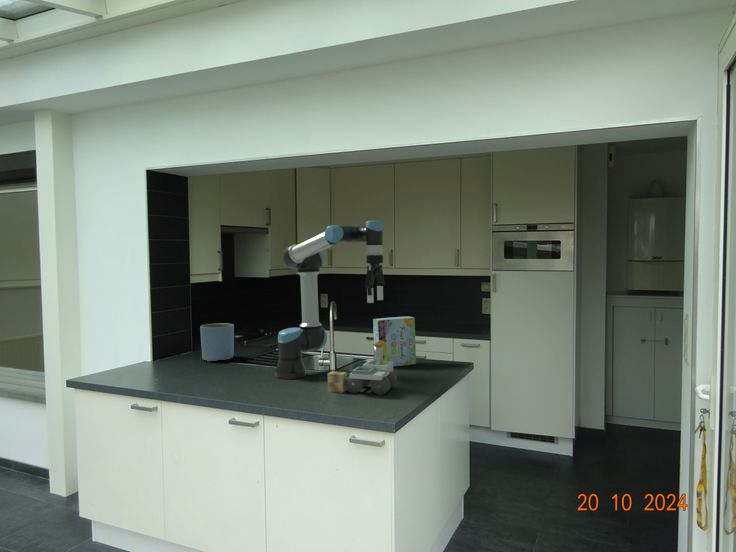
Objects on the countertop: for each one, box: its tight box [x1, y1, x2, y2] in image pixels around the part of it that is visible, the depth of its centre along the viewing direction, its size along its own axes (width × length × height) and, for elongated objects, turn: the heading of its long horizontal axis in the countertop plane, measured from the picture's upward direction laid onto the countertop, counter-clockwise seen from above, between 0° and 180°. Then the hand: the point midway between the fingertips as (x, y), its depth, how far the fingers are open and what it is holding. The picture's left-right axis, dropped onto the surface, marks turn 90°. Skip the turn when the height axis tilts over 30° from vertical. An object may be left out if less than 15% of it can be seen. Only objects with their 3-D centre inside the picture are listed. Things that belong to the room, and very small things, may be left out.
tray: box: [363, 359, 394, 372], centre depth 244 cm, size 11×10×2 cm
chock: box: [327, 371, 348, 394], centre depth 242 cm, size 7×5×8 cm
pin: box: [373, 341, 384, 365], centre depth 244 cm, size 5×5×11 cm
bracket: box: [335, 360, 367, 377], centre depth 268 cm, size 18×7×8 cm, turn 61°
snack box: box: [372, 315, 417, 368], centre depth 294 cm, size 22×9×26 cm, turn 111°
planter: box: [199, 322, 235, 362], centre depth 319 cm, size 19×19×20 cm
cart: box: [345, 366, 398, 396], centre depth 241 cm, size 20×18×10 cm
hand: (375, 301), depth 248 cm, fingers open, 13 cm apart
